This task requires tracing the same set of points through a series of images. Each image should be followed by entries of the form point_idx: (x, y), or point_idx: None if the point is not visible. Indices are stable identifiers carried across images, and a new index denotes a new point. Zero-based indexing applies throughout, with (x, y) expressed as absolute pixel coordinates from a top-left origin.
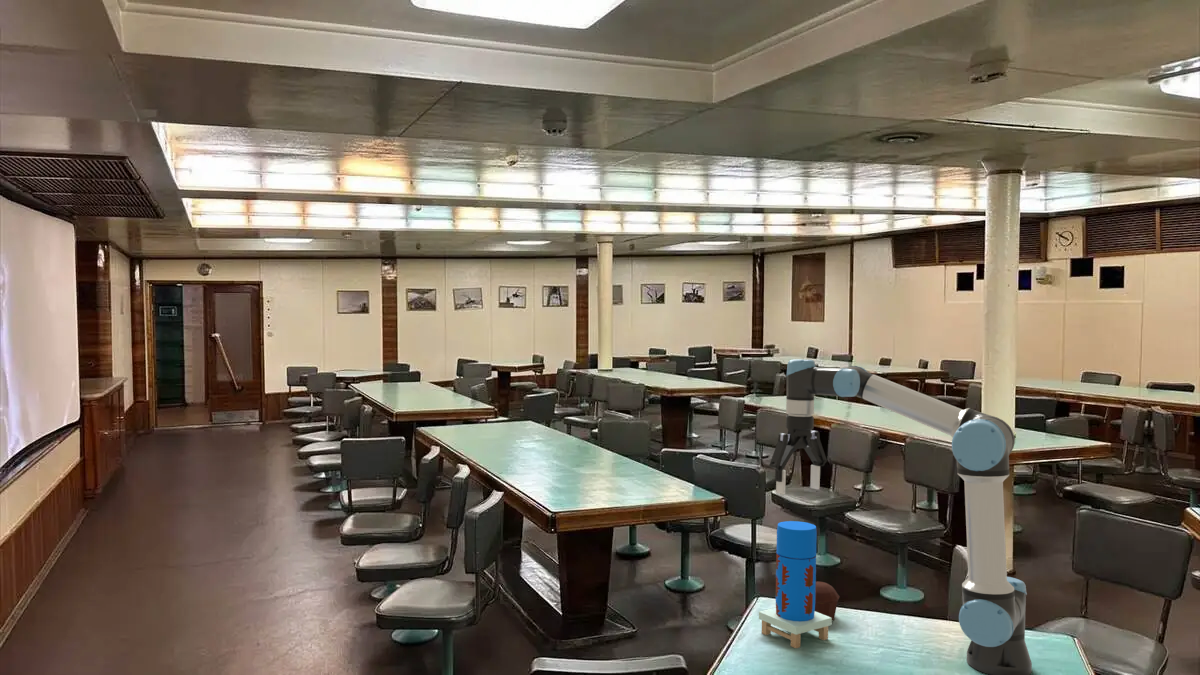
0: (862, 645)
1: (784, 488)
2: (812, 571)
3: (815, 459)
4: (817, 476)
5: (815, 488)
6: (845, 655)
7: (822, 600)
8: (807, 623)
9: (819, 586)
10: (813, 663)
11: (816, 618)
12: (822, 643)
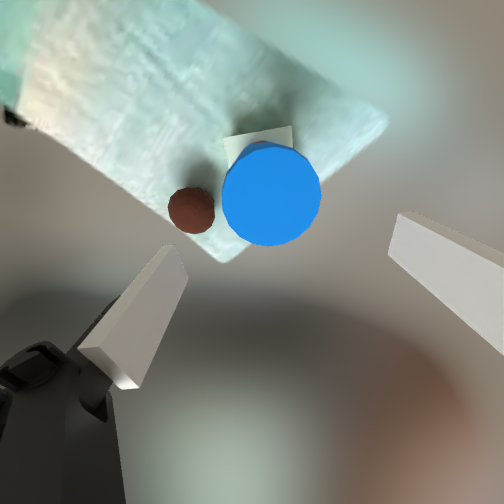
0: (200, 100)
1: (428, 223)
2: (255, 143)
3: (76, 437)
4: (146, 287)
5: (178, 256)
6: (242, 77)
7: (200, 192)
8: (267, 132)
9: (193, 209)
10: (298, 72)
11: (244, 144)
12: (244, 130)
